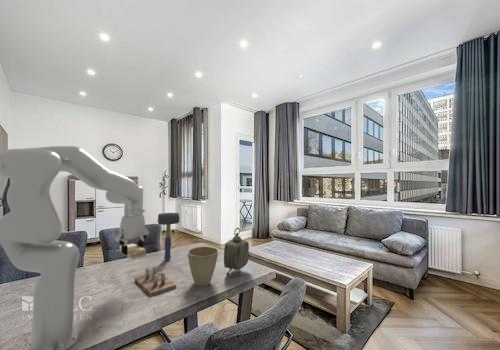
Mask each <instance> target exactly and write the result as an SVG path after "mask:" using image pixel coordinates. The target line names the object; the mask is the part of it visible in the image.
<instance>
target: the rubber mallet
mask: <svg viewBox="0 0 500 350" xmlns="http://www.w3.org/2000/svg"><path fill="white" fill-rule="evenodd" d="M179 222H180V214H179V212H163V213H158V214H157V223H158V225H162V226H163V225H164V226H166V228H165V229H166V230H165V231H166V232H165V238H164V255H163V256H164V257H163V259H164V261H166V262H168V261H170V260H171V257H172V255H171V246H172V238H171V225H177V224H179Z"/></svg>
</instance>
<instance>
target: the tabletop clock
mask: <svg viewBox="0 0 500 350" xmlns="http://www.w3.org/2000/svg"><path fill="white" fill-rule="evenodd" d="M237 230H238V232H236V231H237ZM240 233H241V228H239V227H237V228H235V229H234V232H233V235H234V236H233V237H232V239H228V241H227V242H225V244H224V248H223V266H224V268H227V269H229V270H228V272H226V276H228V275H229V276H230V273H231V271H232V270H237V271H238V274H239V273H241V274H242V271H241V269H243V268H245V266H246V265H247V264H248V263H249V254H250V253H249V251H250V250H249V249H250V246H249V245H250V243H249V241H247V240H245V239H242V238H241V236H239V235H240Z"/></svg>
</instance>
